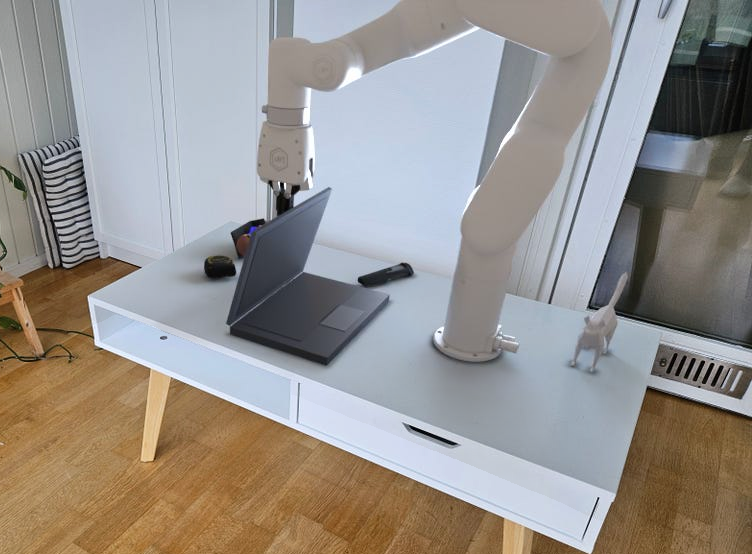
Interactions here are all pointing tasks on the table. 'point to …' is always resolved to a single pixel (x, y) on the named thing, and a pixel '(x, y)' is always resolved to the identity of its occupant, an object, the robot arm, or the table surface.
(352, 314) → the dark grey flat slab
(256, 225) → the character figurine
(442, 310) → the table surface
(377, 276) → the electric trimmer
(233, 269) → the tape measure
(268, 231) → the laptop screen
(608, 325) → the cat figurine
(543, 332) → the table surface
